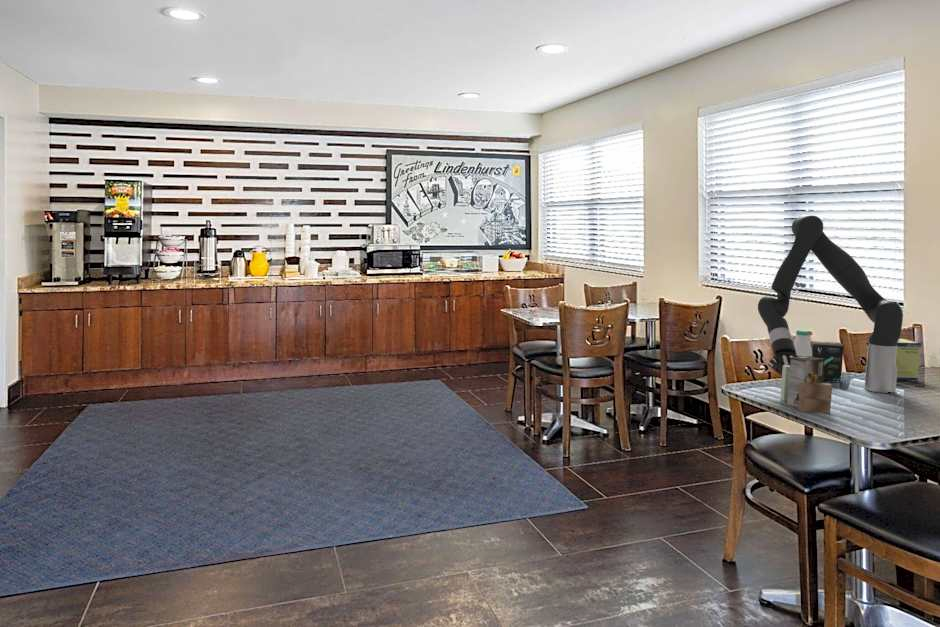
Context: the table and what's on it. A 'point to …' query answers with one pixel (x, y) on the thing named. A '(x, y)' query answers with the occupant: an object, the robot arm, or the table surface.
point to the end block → (814, 397)
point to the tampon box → (829, 358)
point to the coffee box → (803, 375)
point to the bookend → (785, 382)
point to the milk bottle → (802, 344)
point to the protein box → (907, 359)
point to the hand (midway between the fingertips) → (792, 384)
